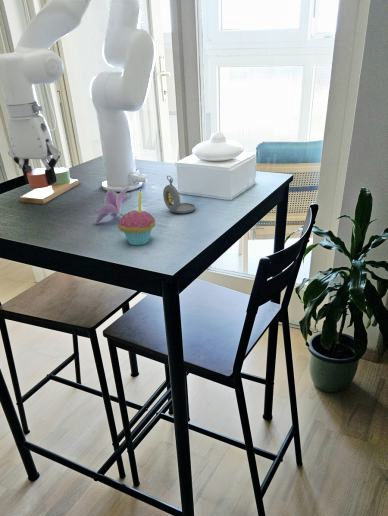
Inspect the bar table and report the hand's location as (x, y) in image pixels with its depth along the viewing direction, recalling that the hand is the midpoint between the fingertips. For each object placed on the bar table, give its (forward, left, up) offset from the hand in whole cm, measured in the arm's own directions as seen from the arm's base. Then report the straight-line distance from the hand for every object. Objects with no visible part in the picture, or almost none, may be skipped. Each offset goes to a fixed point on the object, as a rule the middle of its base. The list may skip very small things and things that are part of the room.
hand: (41, 182), depth 130 cm
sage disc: (+9, -22, -7) cm, 25 cm away
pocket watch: (-37, -8, -8) cm, 38 cm away
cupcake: (-35, +14, -8) cm, 38 cm away
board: (+9, -15, -8) cm, 19 cm away
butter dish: (-41, -30, -8) cm, 51 cm away
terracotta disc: (0, 0, -1) cm, 1 cm away
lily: (-24, +4, -8) cm, 25 cm away
